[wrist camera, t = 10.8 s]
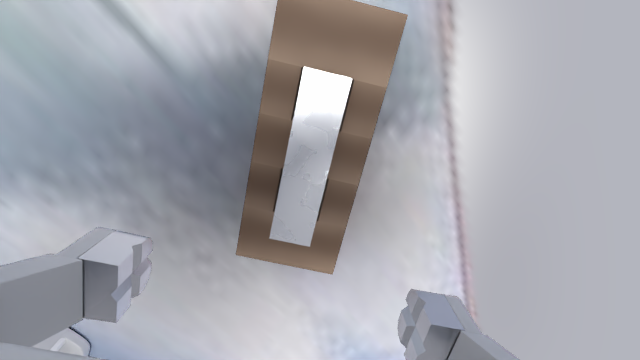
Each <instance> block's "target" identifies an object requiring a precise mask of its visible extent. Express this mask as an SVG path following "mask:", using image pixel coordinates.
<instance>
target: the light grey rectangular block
mask: <svg viewBox="0 0 640 360" xmlns="http://www.w3.org/2000/svg"><path fill="white" fill-rule="evenodd" d="M351 81H352V78H349V77H345V76H341V75H337V74H333V73H329V72H324V71H320V70H316V69H312V68H308V67H304V68H303V73H302V78H301V83H300V88H299V93H298V98H297V103H296V108H295V113H294V118H293V123H292V128H291V133H290V138H289V143H288V148H287V153H286V158H285V163H284V168H283V173H282V178H281V183H280V187H279V192H278V197H277V202H276V207H275V212H274V217H273V222H272V227H271V232H270V237H269V238H270V239H274V240H279V241H284V242H289V243H294V244H299V245H303V246H308V247H310V244H311V240H312V236H313V232H314V228H315V224H316V220H317V216H318V212H319V208H320V204H321V200H322V196H323V192H324V188H325V184H326V180H327V176H328V172H329V169H330V165H331V161H332V157H333V153H334V149H335V145H336V141H337V137H338V133H339V129H340V125H341V121H342V117H343V113H344V109H345V105H346V101H347V97H348V93H349V89H350V85H351Z"/></svg>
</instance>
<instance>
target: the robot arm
mask: <svg viewBox="0 0 640 360" xmlns="http://www.w3.org/2000/svg"><path fill="white" fill-rule="evenodd" d="M152 251H153V240H152V239H151V238H150V237H145V236H140V235H136V234H131V233H126V232H122V231H116V230H113V229H107V228H102V227H99V228H95V229H93V230H92V231H90V232H89V233H87V234H86V235H84V236H83V237H82V238H80V239H79V240H77V241H76V242H74V243H73V244H71V245H70V246H68V247H67V248H65V249H64V250H62V251H61V252H59V253H58V254H56V255H54V254H47V255H43V256H39V257H35V258H31V259H27V260H23V261H19V262H14V263H10V264H6V265H2V266H0V360H106V359H100V358H94V357H88V354H89V351H90V345H89V343H88V342H87V341H86V340H85V339H84V338H83V337H82V336H80V335H79V334H77V333H76V332H74V331H72V330H71V329H69V328H68V327H70V326H72V325H74V324H76V323H77V322H79V321H81V320H83V318H86V319H93V320H100V321H107V322H114V323H116V322H117V321H118V320H119V319H120V318H121V316H122V315H123V314H124V313H125V312H126V310H127V309H128V308H129V307H130V305H131V298H133V297H135V296H138V295H139V294H140V293H141V292H142V291H143V289H144V288H145V286H146V284H147V282H148V280H149V277H150V273H151V266H152V263H151V262H150V260H149V258H148V257H147V256H148V255H149V254H150V253H151V252H152ZM406 302H407V304H408V306H407V307H406V308H404V309H403V310H402V311H401V313H400V316H399V319H398V336H399V339H400V342H401V343H402V344H403V345H404V346H405V347H406V351H405V353H404V356H405V359H406V360H520V359H518V358H517V357H516V356H514V355H513V354H512V353H510V352H509V351H508V350H506V349H505V348H504V347H503V346H501V345H500V344H499V343H497V342H496V341H495V340H493V339H492V338H491V337H489V336H488V335H483V334H482V332H481V331H480V329H479V328H478V326H477V324H476V323H475V321H474V320H473V318H472V317H471V315H470V314H469V312H468V310H467V309H466V307H465V306H464V304H463V303H462V301H461V300H460V299H459V298H458V297H457V296H451V295H445V294H437V293H431V292H426V291H420V290H414V289H411V290H410V291H409V293H408V295H407V297H406Z"/></svg>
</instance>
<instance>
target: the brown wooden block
mask: <svg viewBox="0 0 640 360" xmlns="http://www.w3.org/2000/svg"><path fill="white" fill-rule="evenodd" d="M407 16H408V15H406V14H402V13H399V12H395V11H391V10H387V9H383V8H380V7H376V6H372V5H368V4H364V3H360V2H357V1H353V0H278V1H277V7H276V13H275V19H274V25H273V32H272V38H271V44H270V50H269V56H268V62H267V68H266V74H265V80H264V86H263V92H262V98H261V105H260V111H259V117H258V123H257V129H256V135H255V141H254V147H253V153H252V159H251V165H250V171H249V177H248V184H247V190H246V196H245V202H244V208H243V214H242V220H241V226H240V232H239V238H238V244H237V250H236V255H239V256H244V257H249V258H254V259H259V260H264V261H268V262H273V263H278V264H283V265H288V266H293V267H298V268H303V269H308V270H313V271H318V272H323V273H328V274H333V271H334V267H335V264H336V261H337V257H338V254H339V250H340V247H341V243H342V240H343V236H344V233H345V229H346V226H347V223H348V219H349V216H350V212H351V209H352V205H353V202H354V198H355V195H356V192H357V188H358V185H359V181H360V178H361V174H362V171H363V167H364V164H365V161H366V157H367V154H368V150H369V147H370V143H371V140H372V136H373V133H374V130H375V126H376V123H377V119H378V116H379V112H380V109H381V105H382V102H383V99H384V95H385V92H386V88H387V85H388V81H389V78H390V74H391V71H392V67H393V64H394V61H395V57H396V54H397V50H398V47H399V43H400V40H401V36H402V33H403V30H404V26H405V23H406V19H407ZM304 67H308V68H312V69H316V70H320V71H324V72H329V73H333V74H337V75H341V76H345V77H349V78H352V81H351V85H350V89H349V93H348V97H347V101H346V105H345V109H344V113H343V117H342V121H341V125H340V129H339V133H338V137H337V141H336V145H335V149H334V153H333V157H332V161H331V165H330V169H329V172H328V176H327V180H326V184H325V188H324V192H323V196H322V200H321V204H320V208H319V212H318V216H317V220H316V224H315V228H314V232H313V236H312V240H311V244H310V247H308V246H303V245H299V244H294V243H289V242H284V241H279V240H274V239H270V238H269V237H270V232H271V227H272V222H273V217H274V212H275V207H276V202H277V197H278V192H279V187H280V183H281V178H282V173H283V168H284V163H285V158H286V153H287V148H288V143H289V138H290V133H291V128H292V123H293V118H294V113H295V108H296V103H297V98H298V93H299V88H300V83H301V78H302V73H303V68H304Z"/></svg>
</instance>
